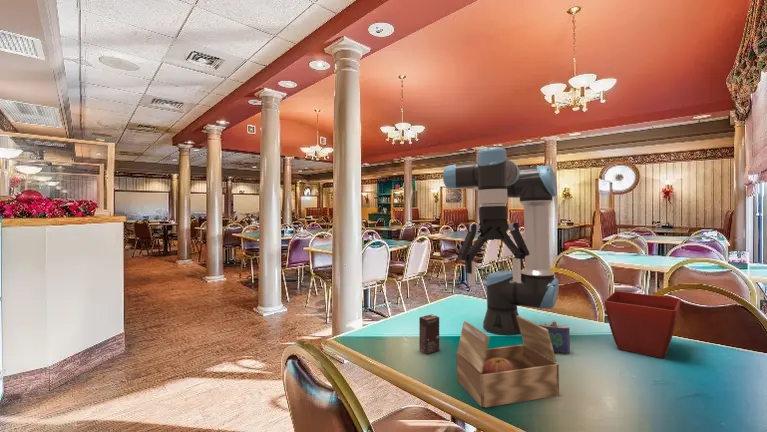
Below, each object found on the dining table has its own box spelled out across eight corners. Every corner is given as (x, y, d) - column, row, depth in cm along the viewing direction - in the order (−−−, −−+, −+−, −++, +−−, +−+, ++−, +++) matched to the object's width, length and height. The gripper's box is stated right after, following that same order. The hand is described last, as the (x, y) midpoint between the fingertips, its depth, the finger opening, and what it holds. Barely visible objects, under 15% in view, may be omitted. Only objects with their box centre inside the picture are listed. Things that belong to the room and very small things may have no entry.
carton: (524, 370, 108) (523, 344, 108) (559, 395, 94) (558, 364, 94) (456, 380, 104) (456, 352, 103) (482, 407, 89) (481, 375, 89)
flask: (569, 352, 121) (568, 320, 121) (570, 355, 118) (569, 323, 118) (539, 348, 125) (539, 318, 124) (540, 352, 122) (539, 320, 122)
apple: (512, 400, 92) (511, 369, 92) (478, 391, 97) (477, 362, 97) (519, 385, 100) (518, 356, 99) (487, 378, 104) (486, 351, 104)
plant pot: (681, 346, 123) (681, 297, 123) (677, 365, 109) (676, 310, 109) (616, 334, 136) (615, 290, 136) (604, 350, 122) (603, 300, 122)
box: (427, 355, 122) (426, 319, 122) (419, 351, 126) (418, 316, 126) (440, 350, 125) (439, 316, 125) (432, 347, 129) (431, 313, 129)
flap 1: (459, 352, 103) (465, 321, 103) (482, 372, 90) (489, 336, 90) (456, 351, 103) (463, 320, 103) (479, 372, 90) (487, 336, 90)
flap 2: (554, 362, 94) (546, 330, 94) (523, 344, 107) (516, 315, 107) (556, 361, 94) (548, 329, 94) (525, 343, 107) (518, 315, 107)
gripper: (525, 204, 104) (527, 278, 104) (444, 206, 99) (446, 284, 99) (542, 204, 97) (543, 283, 97) (456, 206, 91) (458, 289, 92)
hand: (494, 283), depth 98 cm, fingers open, 13 cm apart
